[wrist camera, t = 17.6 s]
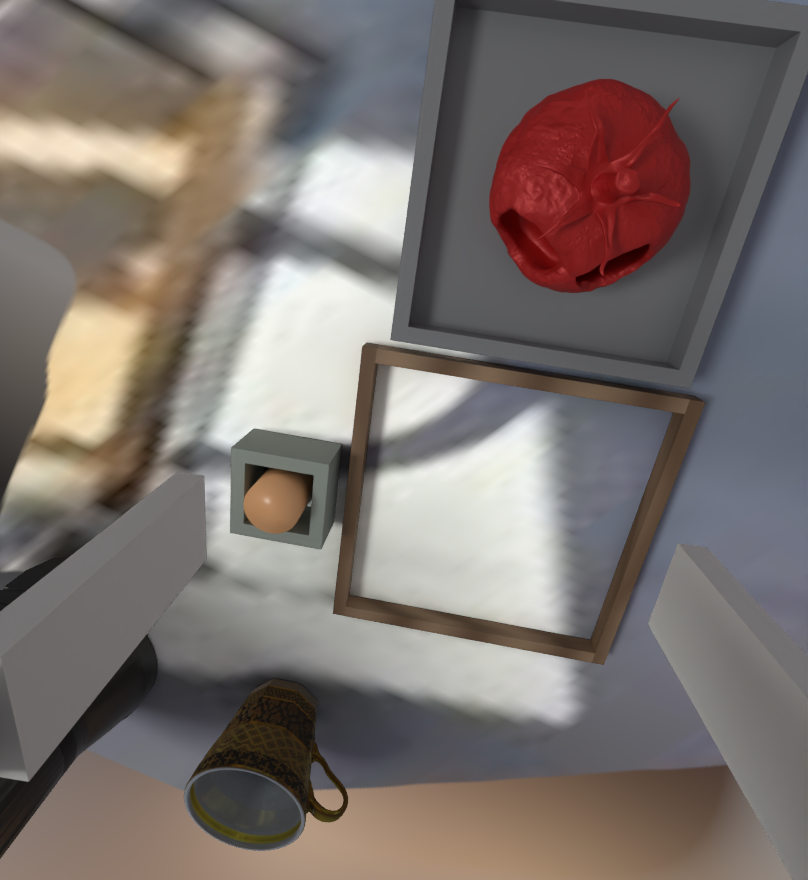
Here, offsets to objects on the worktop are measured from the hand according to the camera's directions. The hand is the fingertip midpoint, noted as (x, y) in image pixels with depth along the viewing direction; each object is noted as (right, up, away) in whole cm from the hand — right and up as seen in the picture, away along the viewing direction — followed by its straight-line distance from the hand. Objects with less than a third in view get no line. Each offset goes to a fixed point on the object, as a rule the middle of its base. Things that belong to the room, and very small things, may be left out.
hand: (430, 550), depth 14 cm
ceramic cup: (-11, -23, +34) cm, 43 cm away
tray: (+9, +18, +16) cm, 26 cm away
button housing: (-9, 0, +25) cm, 27 cm away
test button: (-10, 0, +24) cm, 26 cm away
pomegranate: (+9, +17, +16) cm, 25 cm away
